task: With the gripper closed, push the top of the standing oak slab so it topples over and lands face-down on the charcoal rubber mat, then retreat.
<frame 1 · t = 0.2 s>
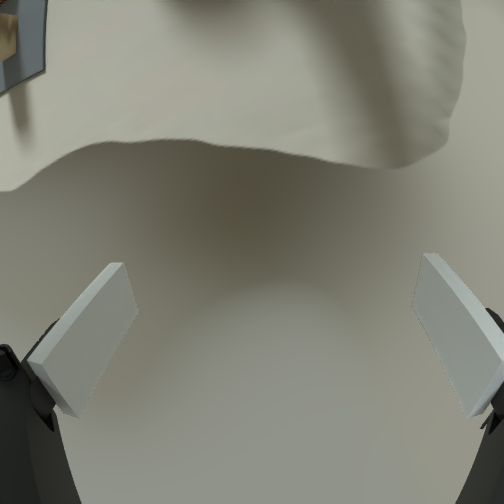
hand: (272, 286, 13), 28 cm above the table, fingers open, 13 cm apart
slab: (9, 38, 28), point 1 cm above the table, touching mat
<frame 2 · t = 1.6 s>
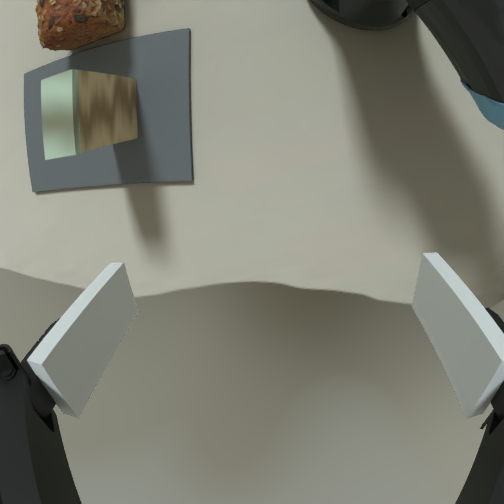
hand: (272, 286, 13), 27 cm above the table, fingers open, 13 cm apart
slab: (123, 110, 34), point 1 cm above the table, touching mat
mat: (94, 115, 34), on the table
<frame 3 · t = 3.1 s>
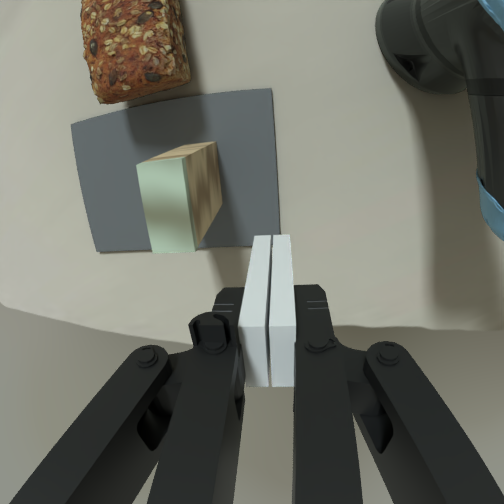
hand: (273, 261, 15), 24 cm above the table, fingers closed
slab: (203, 174, 37), point 1 cm above the table, touching mat
bread: (148, 32, 30), on the table
mat: (167, 177, 38), on the table
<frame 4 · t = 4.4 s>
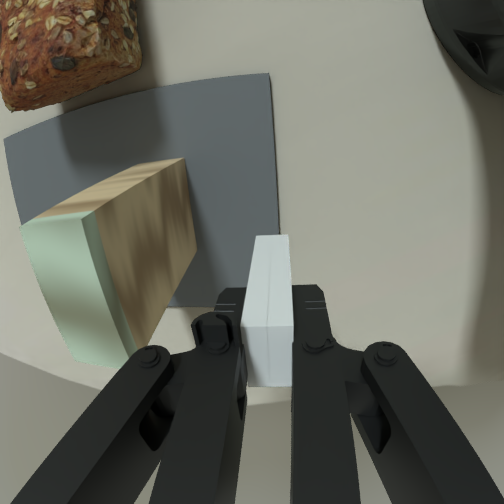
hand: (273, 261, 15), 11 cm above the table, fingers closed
slab: (167, 207, 25), point 1 cm above the table, touching mat
bread: (91, 6, 17), on the table
mat: (120, 209, 26), on the table
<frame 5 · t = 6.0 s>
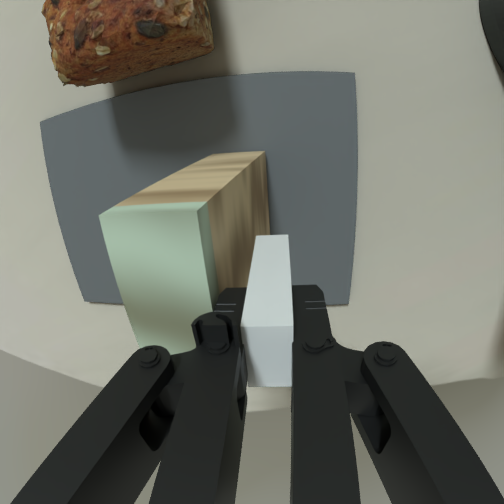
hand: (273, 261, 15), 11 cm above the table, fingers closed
slab: (242, 202, 24), point 1 cm above the table, tilted 6°, touching gripper, mat
mat: (184, 203, 25), on the table
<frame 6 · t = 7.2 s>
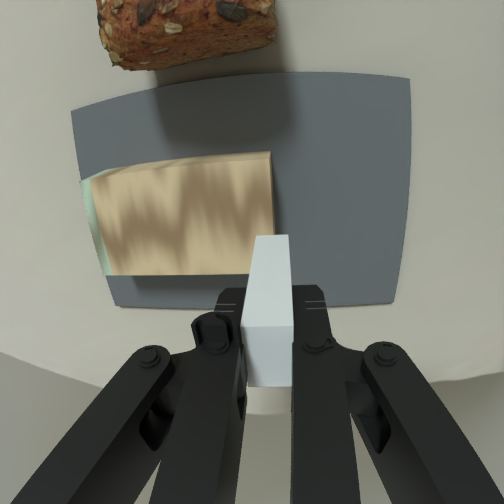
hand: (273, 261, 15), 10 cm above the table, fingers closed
slab: (273, 210, 22), point 3 cm above the table, tilted 90°, touching mat
mat: (237, 201, 24), on the table
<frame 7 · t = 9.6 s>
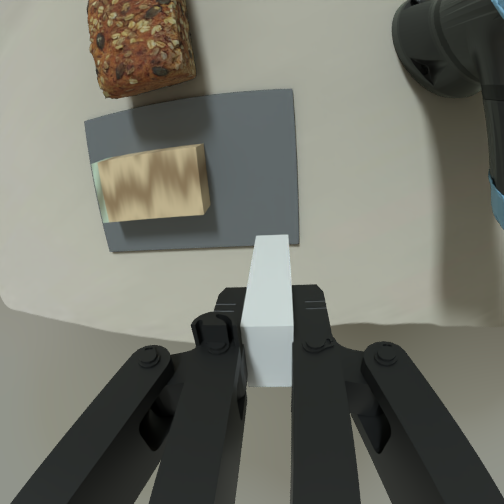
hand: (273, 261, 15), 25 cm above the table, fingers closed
slab: (203, 177, 35), point 3 cm above the table, tilted 90°, touching mat
bread: (154, 28, 30), on the table
mat: (186, 175, 38), on the table
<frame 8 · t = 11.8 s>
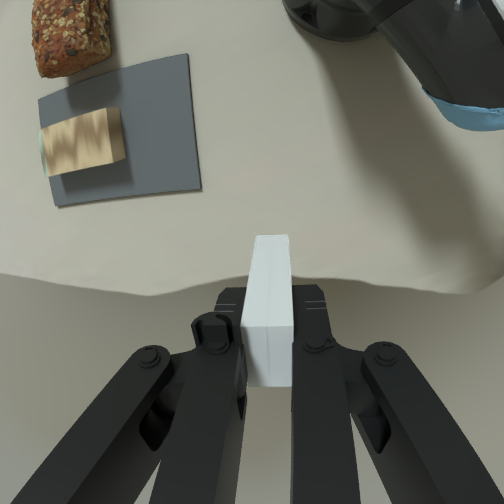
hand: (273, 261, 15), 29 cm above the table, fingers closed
slab: (115, 133, 38), point 3 cm above the table, tilted 90°, touching mat
bread: (85, 21, 32), on the table
mat: (108, 135, 41), on the table
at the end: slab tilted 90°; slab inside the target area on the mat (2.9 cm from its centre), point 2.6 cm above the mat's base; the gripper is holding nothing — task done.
